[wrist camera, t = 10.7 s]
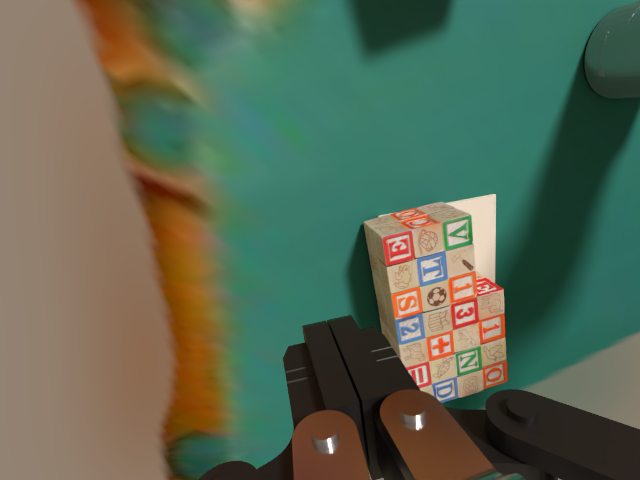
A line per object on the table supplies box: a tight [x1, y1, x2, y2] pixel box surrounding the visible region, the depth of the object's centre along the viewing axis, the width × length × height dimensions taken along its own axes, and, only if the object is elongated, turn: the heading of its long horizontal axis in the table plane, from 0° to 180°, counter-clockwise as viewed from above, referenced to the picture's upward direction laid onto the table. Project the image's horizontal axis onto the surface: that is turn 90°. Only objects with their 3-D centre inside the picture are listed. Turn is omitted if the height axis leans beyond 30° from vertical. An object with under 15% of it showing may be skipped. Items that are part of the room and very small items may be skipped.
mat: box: [377, 194, 496, 283], centre depth 46 cm, size 14×24×1 cm, turn 8°
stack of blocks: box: [363, 202, 508, 403], centre depth 42 cm, size 21×6×12 cm
